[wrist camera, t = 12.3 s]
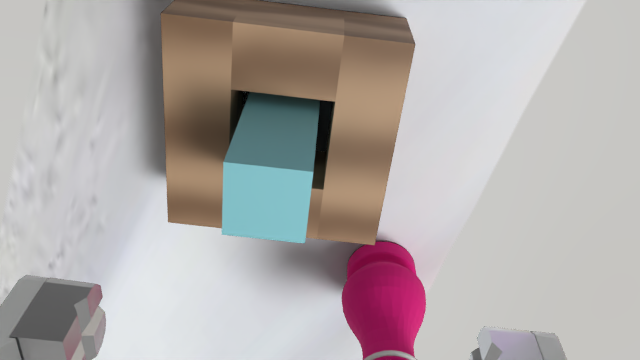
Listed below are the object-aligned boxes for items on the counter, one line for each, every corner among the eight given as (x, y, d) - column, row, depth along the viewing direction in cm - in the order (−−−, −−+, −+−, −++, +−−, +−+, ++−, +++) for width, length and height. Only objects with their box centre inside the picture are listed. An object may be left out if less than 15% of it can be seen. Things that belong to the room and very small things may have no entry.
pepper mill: (348, 299, 55) (349, 509, 38) (336, 241, 51) (332, 442, 34) (422, 292, 54) (459, 502, 37) (416, 231, 50) (453, 433, 33)
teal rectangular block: (257, 73, 43) (223, 161, 31) (321, 80, 43) (313, 172, 31) (254, 131, 46) (221, 234, 34) (315, 138, 46) (305, 243, 34)
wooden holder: (184, -9, 40) (160, 13, 35) (406, 18, 40) (415, 44, 35) (186, 181, 48) (168, 222, 43) (371, 202, 49) (374, 245, 44)
